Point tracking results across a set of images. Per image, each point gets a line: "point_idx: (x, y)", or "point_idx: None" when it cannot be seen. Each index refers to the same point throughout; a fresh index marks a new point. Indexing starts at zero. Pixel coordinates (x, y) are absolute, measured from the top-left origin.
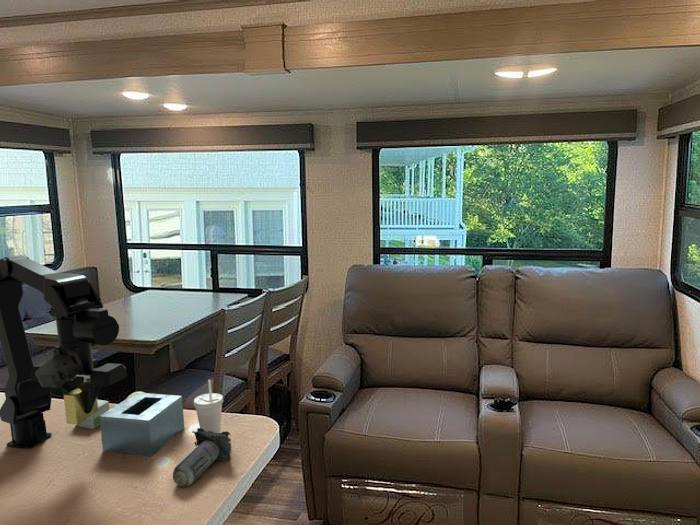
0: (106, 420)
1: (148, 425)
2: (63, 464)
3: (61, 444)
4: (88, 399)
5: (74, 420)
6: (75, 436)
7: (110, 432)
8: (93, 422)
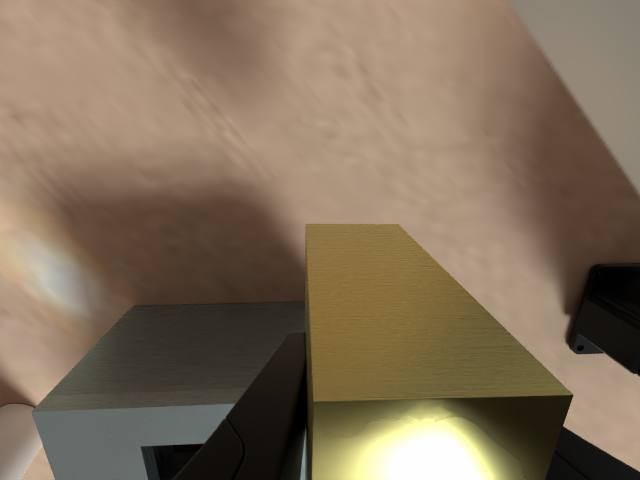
0: None
1: (56, 389)
2: (405, 201)
3: (499, 309)
4: (216, 432)
5: (327, 231)
6: None
7: None
8: None
